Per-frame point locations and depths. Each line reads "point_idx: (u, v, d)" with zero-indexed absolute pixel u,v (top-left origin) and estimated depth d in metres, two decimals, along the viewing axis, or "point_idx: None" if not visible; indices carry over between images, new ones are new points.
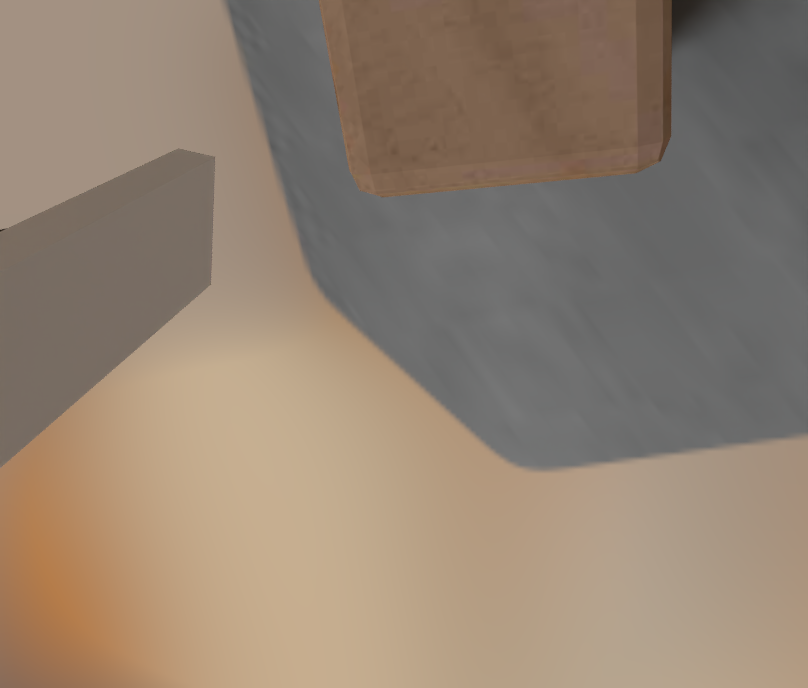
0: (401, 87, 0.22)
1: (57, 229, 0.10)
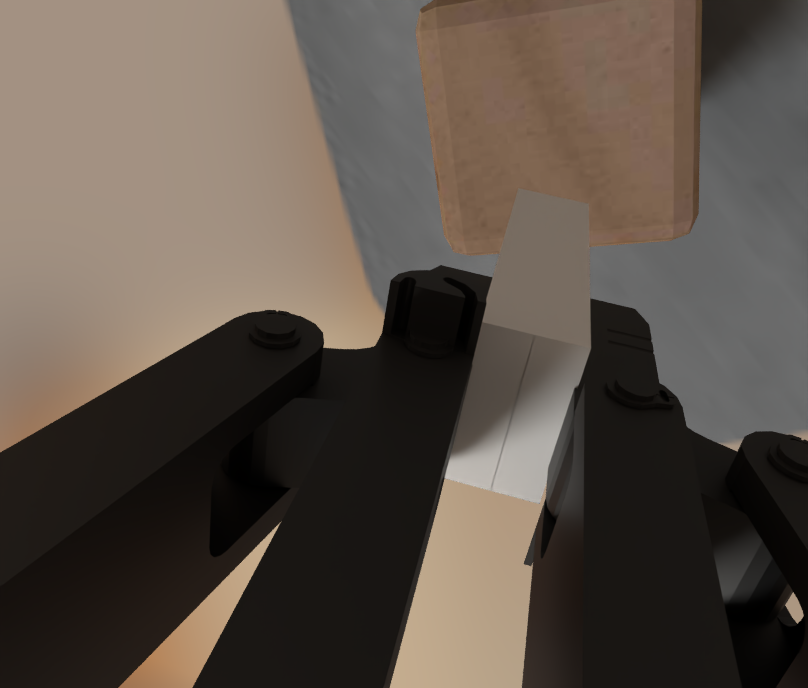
0: (491, 178, 0.28)
1: (529, 273, 0.11)
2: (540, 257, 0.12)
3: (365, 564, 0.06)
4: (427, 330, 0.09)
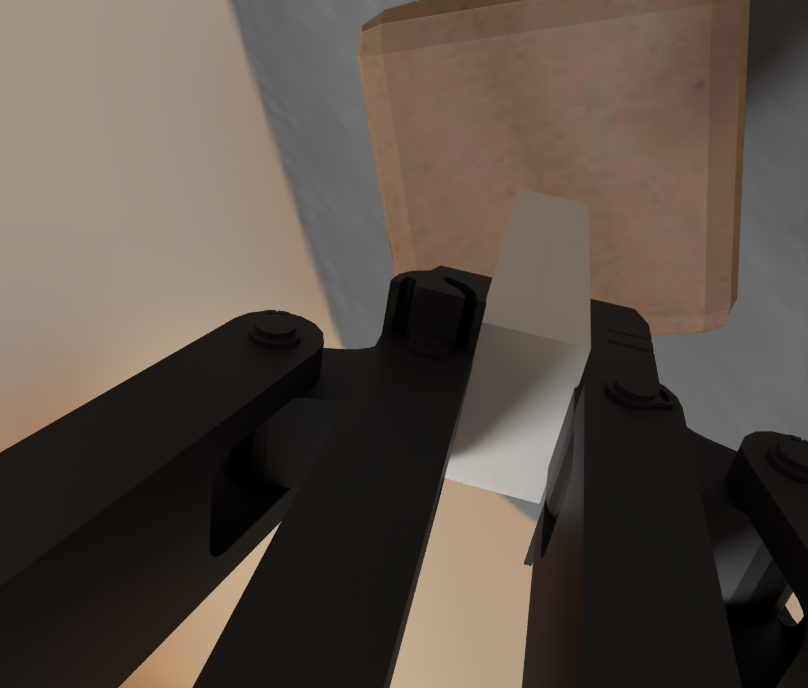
0: (460, 250, 0.21)
1: (529, 273, 0.11)
2: (540, 257, 0.12)
3: (365, 564, 0.06)
4: (427, 330, 0.09)
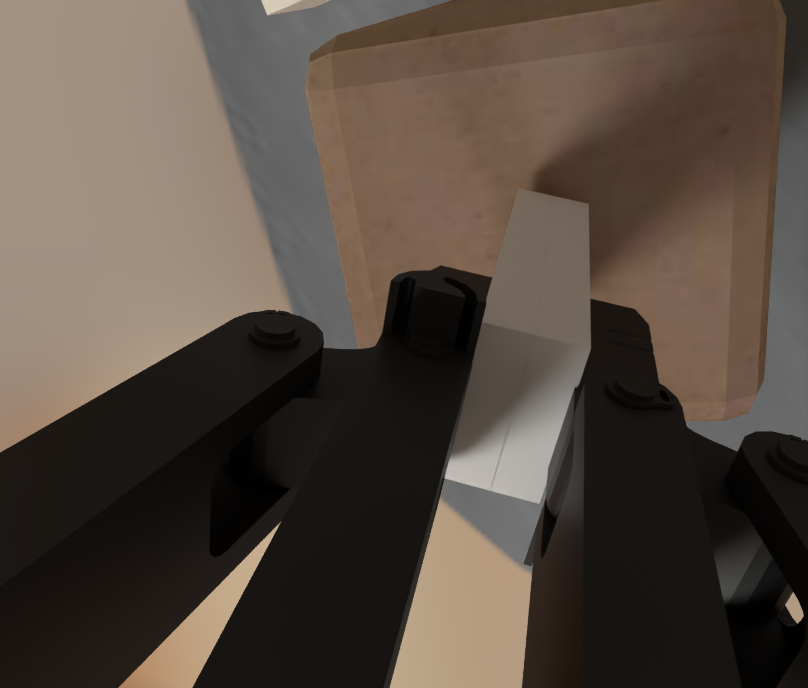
0: None
1: (528, 273, 0.11)
2: (540, 257, 0.12)
3: (365, 563, 0.06)
4: (427, 330, 0.09)
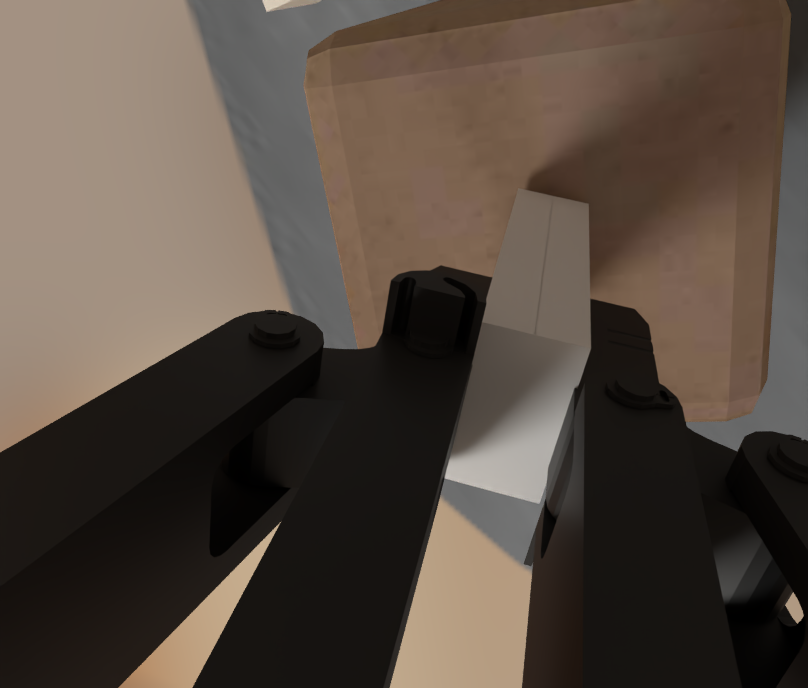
0: None
1: (528, 273, 0.11)
2: (540, 257, 0.12)
3: (365, 563, 0.06)
4: (427, 330, 0.09)
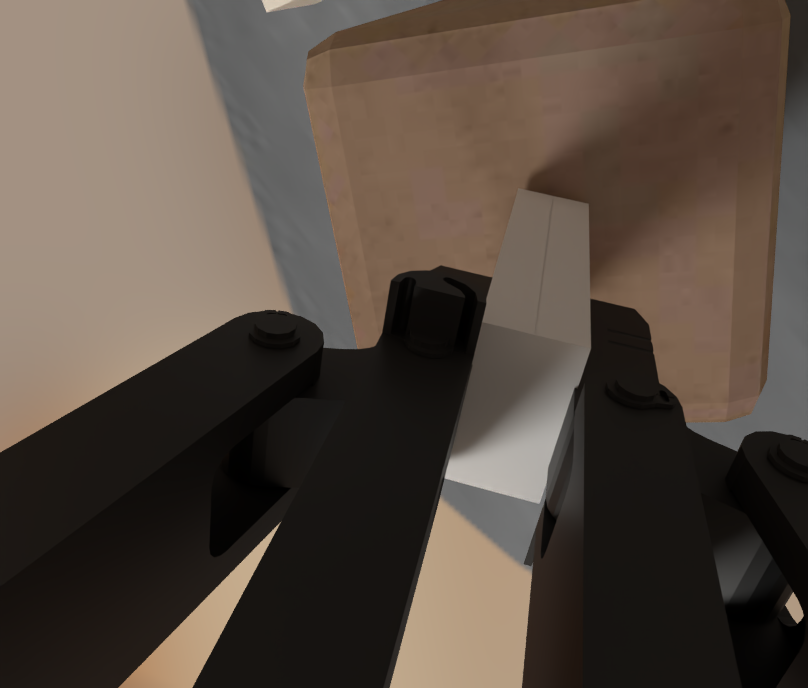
0: None
1: (529, 273, 0.11)
2: (540, 257, 0.12)
3: (367, 563, 0.06)
4: (427, 330, 0.09)
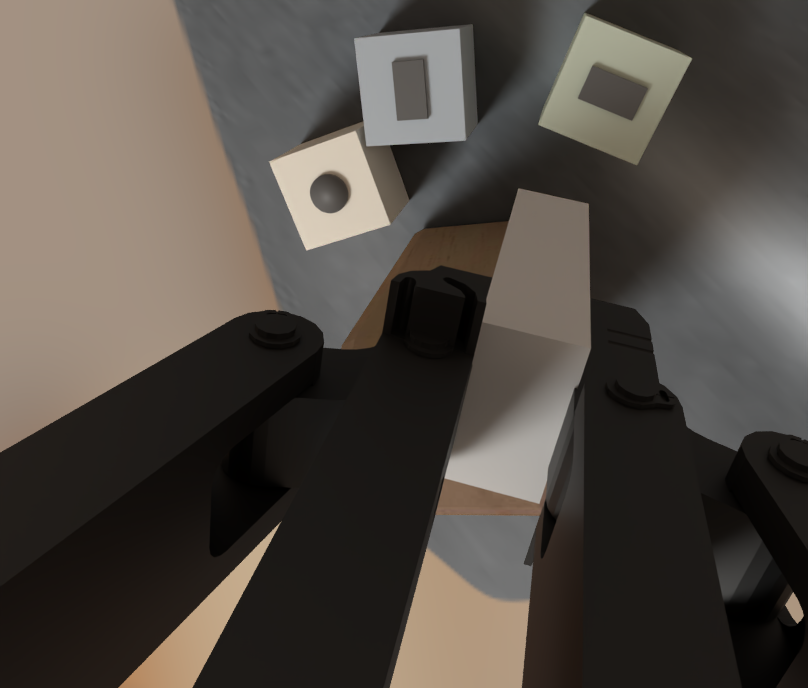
0: None
1: (529, 273, 0.11)
2: (540, 257, 0.12)
3: (365, 564, 0.06)
4: (427, 330, 0.09)
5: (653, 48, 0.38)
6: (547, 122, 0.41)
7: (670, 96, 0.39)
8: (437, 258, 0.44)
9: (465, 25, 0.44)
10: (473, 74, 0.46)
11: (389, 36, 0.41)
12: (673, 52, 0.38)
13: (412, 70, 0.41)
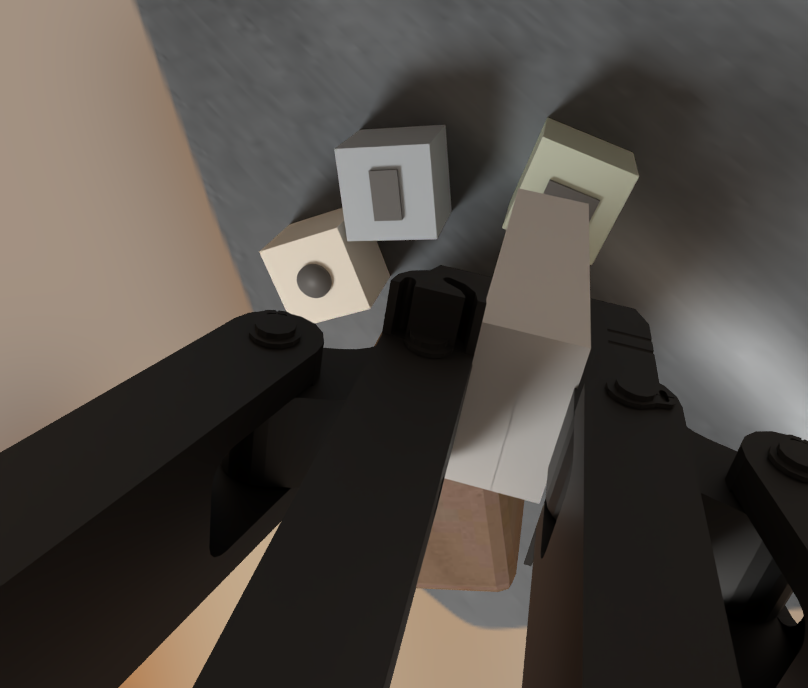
0: None
1: (529, 273, 0.11)
2: (540, 257, 0.12)
3: (365, 564, 0.06)
4: (427, 330, 0.09)
5: (604, 166, 0.42)
6: None
7: (620, 207, 0.43)
8: None
9: (437, 129, 0.48)
10: (446, 170, 0.50)
11: (366, 148, 0.45)
12: (622, 170, 0.42)
13: (387, 178, 0.45)
